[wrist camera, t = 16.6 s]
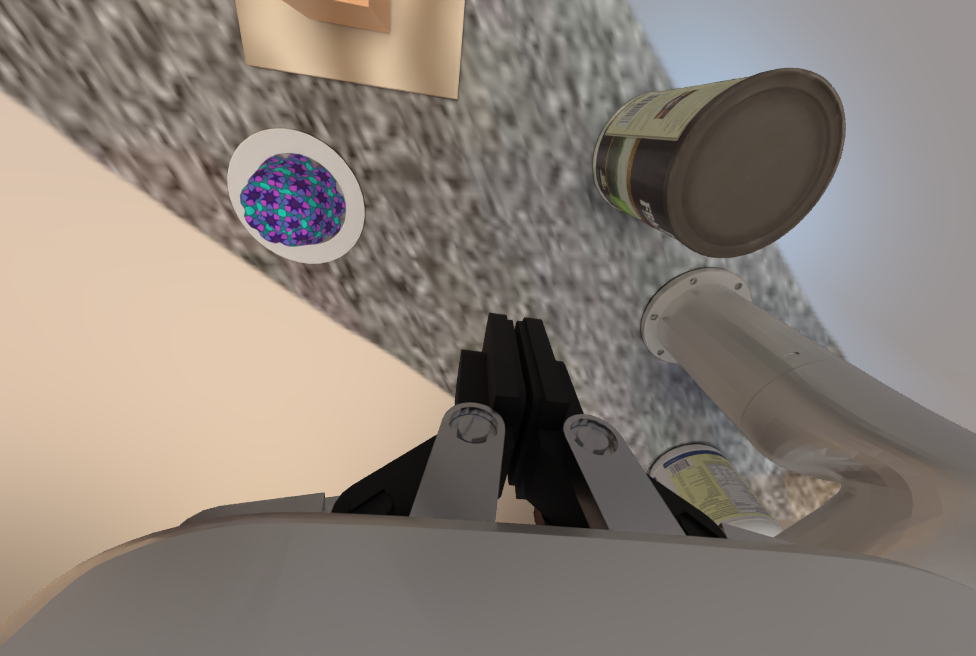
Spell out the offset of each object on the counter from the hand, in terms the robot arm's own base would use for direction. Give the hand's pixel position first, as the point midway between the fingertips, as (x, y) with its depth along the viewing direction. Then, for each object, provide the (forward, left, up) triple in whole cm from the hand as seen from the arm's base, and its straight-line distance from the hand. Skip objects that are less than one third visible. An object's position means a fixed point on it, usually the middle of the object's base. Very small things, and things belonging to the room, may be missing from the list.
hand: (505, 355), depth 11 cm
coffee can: (-15, -6, -26) cm, 31 cm away
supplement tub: (-38, +37, -26) cm, 60 cm away
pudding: (+17, +2, -27) cm, 31 cm away
